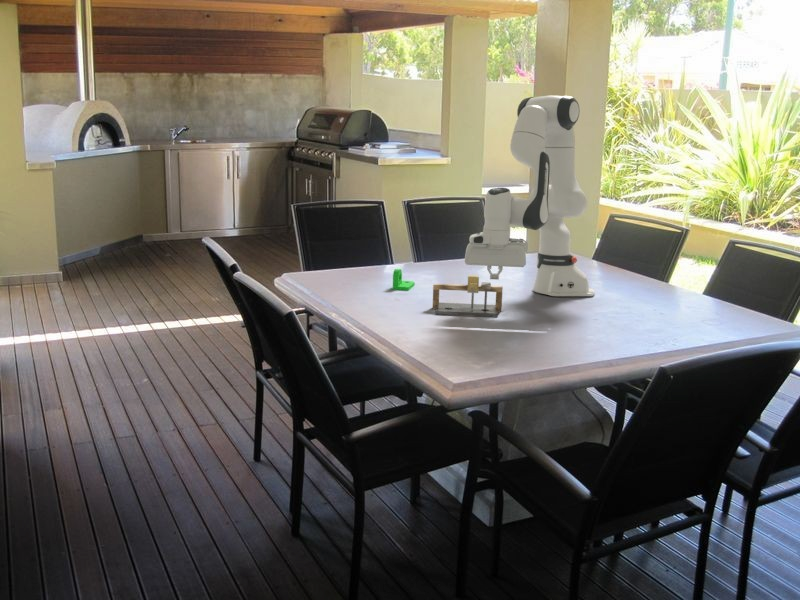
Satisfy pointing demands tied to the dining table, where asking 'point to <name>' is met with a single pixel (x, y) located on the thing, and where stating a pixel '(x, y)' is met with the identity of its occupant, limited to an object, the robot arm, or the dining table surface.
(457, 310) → the bolt plate
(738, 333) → the dining table surface
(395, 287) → the mechanical part
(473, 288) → the slider leg
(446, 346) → the dining table surface
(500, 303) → the wooden frame rack
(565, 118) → the robot arm
